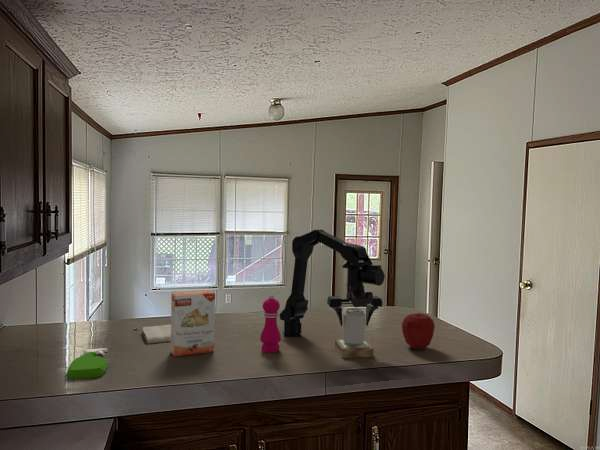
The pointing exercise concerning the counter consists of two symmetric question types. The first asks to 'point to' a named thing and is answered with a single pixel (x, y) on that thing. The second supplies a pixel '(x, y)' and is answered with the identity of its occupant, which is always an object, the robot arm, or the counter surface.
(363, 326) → the can
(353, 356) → the plinth
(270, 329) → the pepper mill
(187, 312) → the cracker box
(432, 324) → the apple
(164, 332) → the washcloth
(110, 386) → the counter surface
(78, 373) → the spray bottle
